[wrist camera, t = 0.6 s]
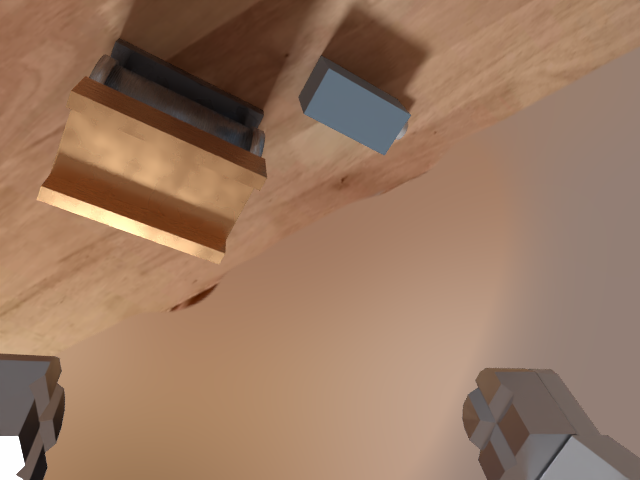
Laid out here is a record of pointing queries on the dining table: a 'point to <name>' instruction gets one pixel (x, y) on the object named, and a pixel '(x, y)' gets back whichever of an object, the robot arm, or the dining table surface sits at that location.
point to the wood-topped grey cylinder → (157, 153)
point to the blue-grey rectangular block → (353, 106)
